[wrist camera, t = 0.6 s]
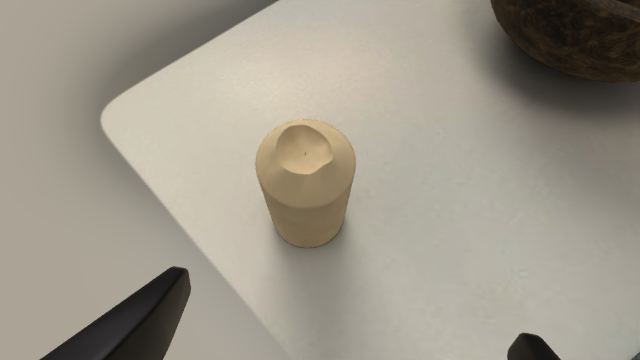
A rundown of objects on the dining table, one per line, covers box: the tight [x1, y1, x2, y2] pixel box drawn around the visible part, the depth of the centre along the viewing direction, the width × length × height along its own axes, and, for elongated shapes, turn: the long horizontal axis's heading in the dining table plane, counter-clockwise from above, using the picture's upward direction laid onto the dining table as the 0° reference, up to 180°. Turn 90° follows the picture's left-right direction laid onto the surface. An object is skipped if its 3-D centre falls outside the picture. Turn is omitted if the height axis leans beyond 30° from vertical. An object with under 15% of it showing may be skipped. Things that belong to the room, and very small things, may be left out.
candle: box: [255, 119, 356, 248], centre depth 22 cm, size 6×6×10 cm
